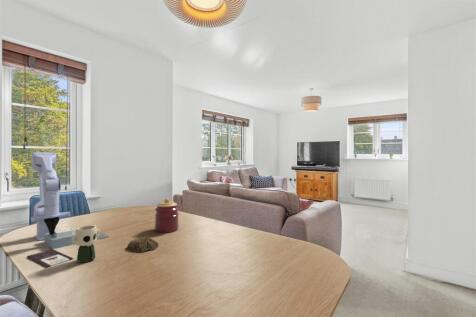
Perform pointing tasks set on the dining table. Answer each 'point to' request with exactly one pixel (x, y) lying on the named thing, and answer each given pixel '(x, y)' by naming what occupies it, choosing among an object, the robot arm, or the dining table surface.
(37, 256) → the chocolate bar
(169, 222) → the canister
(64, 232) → the tile
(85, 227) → the character mug
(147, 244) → the mossy rock
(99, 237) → the mat
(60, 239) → the plate
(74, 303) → the dining table surface
